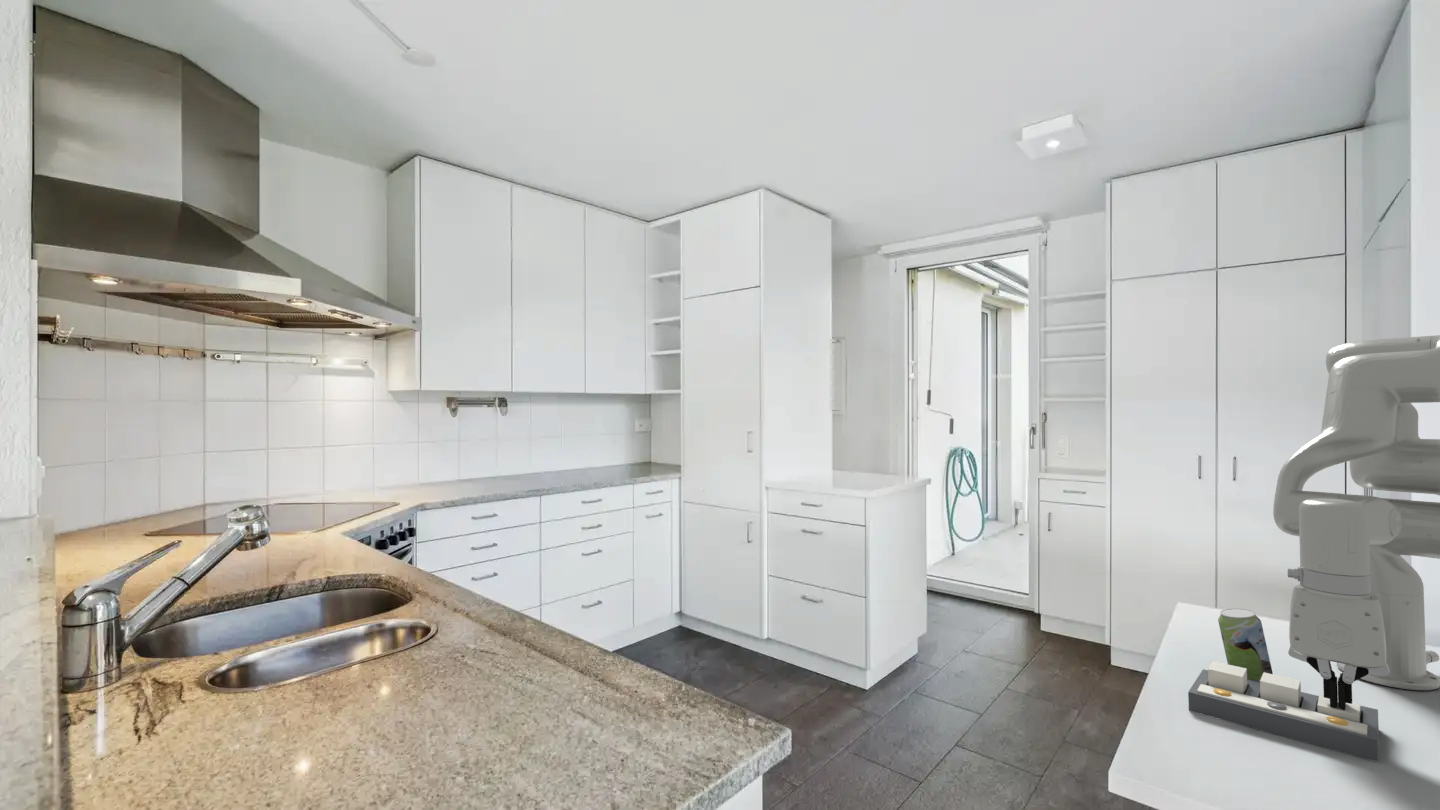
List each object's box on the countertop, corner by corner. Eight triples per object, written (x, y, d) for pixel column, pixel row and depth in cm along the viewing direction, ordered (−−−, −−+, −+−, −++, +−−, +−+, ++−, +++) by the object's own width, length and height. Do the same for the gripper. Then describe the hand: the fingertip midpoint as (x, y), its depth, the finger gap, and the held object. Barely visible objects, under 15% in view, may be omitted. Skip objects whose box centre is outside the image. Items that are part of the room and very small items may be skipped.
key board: (1203, 686, 108) (1202, 666, 109) (1378, 729, 93) (1377, 706, 93) (1188, 710, 100) (1188, 688, 100) (1378, 762, 85) (1377, 736, 85)
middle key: (1264, 690, 101) (1263, 672, 101) (1301, 699, 98) (1300, 680, 98) (1260, 699, 98) (1259, 680, 98) (1298, 709, 95) (1297, 689, 95)
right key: (1319, 714, 96) (1319, 695, 96) (1360, 724, 93) (1360, 704, 93) (1317, 725, 93) (1317, 705, 93) (1360, 735, 90) (1359, 715, 90)
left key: (1213, 678, 106) (1213, 661, 106) (1247, 686, 102) (1246, 668, 102) (1208, 687, 103) (1208, 668, 103) (1243, 695, 99) (1242, 676, 99)
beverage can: (1281, 687, 107) (1279, 618, 107) (1233, 684, 109) (1231, 616, 109) (1258, 672, 114) (1256, 606, 114) (1212, 669, 115) (1210, 605, 115)
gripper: (1265, 578, 96) (1268, 697, 96) (1409, 598, 85) (1413, 732, 85) (1271, 569, 101) (1274, 682, 101) (1408, 587, 90) (1412, 714, 90)
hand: (1338, 705), depth 93 cm, fingers closed
